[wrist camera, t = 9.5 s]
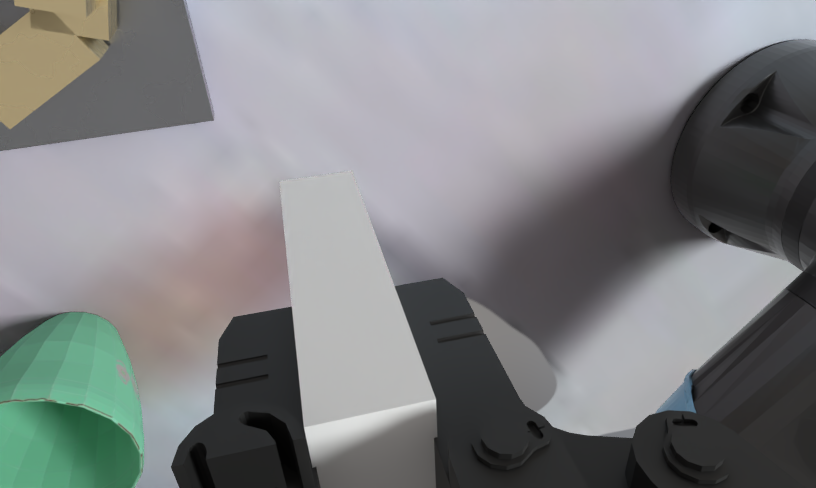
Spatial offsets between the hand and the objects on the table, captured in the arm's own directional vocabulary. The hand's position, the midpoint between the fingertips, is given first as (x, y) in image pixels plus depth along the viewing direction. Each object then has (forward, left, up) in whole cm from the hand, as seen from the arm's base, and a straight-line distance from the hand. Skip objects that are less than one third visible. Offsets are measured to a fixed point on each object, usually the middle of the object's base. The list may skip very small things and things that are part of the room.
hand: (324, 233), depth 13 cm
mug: (+16, +20, -22) cm, 34 cm away
